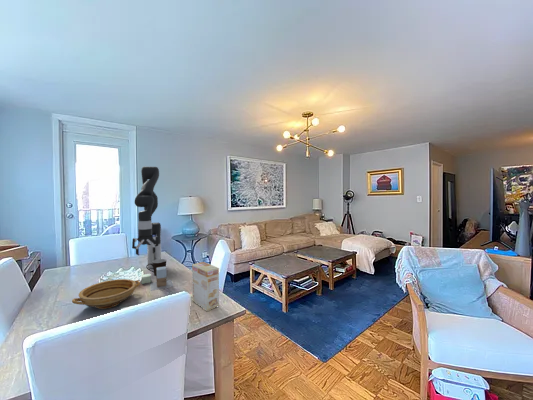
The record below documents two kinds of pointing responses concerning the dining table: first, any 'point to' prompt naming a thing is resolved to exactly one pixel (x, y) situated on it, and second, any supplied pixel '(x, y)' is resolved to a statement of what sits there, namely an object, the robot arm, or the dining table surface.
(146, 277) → the brick sage
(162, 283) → the brick base
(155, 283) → the build plate
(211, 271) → the coffeecake box
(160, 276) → the brick slate
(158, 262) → the coffee mug
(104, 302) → the ceramic bowl
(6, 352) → the dining table surface
